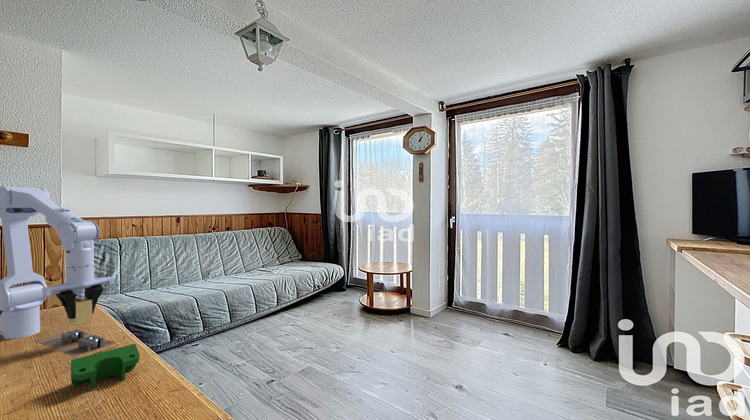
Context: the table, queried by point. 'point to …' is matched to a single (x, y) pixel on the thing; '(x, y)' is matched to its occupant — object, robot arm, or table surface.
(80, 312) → the brushed brass block
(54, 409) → the table surface
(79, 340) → the steel ball guide
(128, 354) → the clamp
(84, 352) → the board
